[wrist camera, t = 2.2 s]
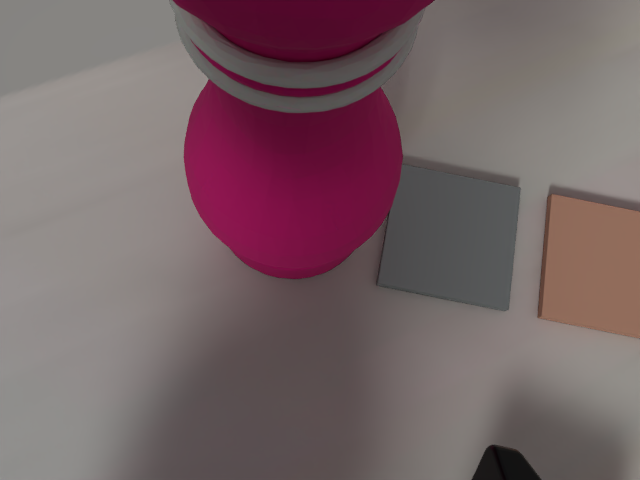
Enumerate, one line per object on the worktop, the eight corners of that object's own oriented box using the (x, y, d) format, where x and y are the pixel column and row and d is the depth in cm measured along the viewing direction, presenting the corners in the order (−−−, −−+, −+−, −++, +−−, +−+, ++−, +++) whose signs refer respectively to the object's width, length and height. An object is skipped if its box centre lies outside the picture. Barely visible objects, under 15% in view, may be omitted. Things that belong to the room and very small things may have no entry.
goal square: (537, 317, 23) (541, 316, 23) (547, 197, 24) (551, 194, 24) (666, 343, 23) (672, 342, 23) (668, 221, 24) (674, 218, 24)
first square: (376, 285, 23) (377, 283, 23) (396, 166, 24) (398, 163, 24) (505, 311, 23) (508, 309, 23) (517, 191, 24) (520, 187, 24)
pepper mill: (415, 229, 24) (954, -529, 5) (266, 328, 22) (136, -174, 3) (316, 97, 25) (407, -899, 6) (170, 181, 24) (-323, -777, 5)
